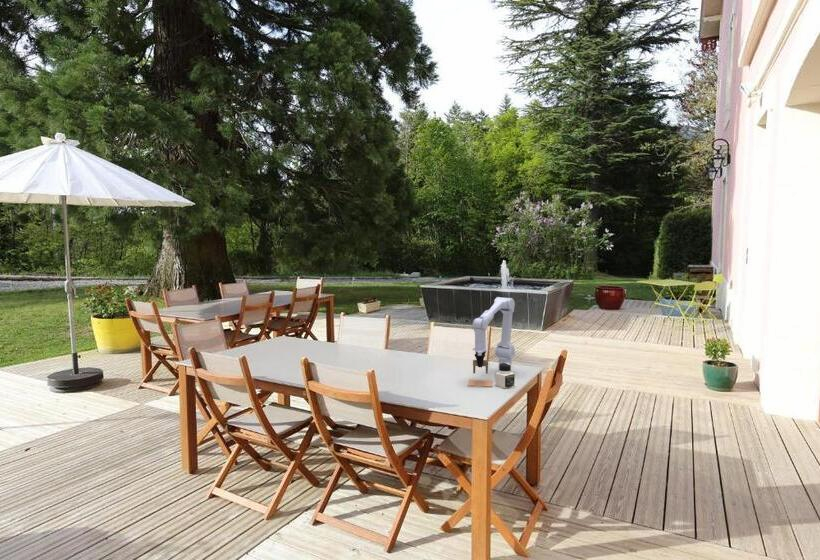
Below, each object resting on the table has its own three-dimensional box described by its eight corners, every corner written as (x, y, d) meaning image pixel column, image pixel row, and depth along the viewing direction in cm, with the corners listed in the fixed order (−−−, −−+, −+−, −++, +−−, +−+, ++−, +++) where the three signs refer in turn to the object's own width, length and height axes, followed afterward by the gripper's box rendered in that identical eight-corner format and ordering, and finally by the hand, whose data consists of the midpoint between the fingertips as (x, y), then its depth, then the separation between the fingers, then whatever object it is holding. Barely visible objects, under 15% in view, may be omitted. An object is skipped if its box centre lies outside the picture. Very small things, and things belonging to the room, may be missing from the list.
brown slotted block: (473, 370, 285) (473, 359, 284) (488, 371, 284) (488, 360, 283) (472, 373, 280) (472, 362, 279) (488, 373, 279) (488, 362, 278)
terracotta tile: (468, 380, 289) (468, 379, 289) (492, 381, 287) (492, 380, 287) (467, 386, 278) (467, 385, 278) (492, 387, 276) (492, 386, 276)
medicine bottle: (505, 389, 273) (505, 366, 272) (495, 385, 278) (495, 363, 277) (514, 386, 277) (514, 364, 276) (504, 383, 283) (504, 361, 281)
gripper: (473, 337, 288) (473, 362, 289) (471, 343, 274) (472, 369, 275) (486, 338, 287) (486, 362, 288) (485, 343, 273) (485, 369, 274)
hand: (480, 365), depth 281 cm, fingers closed on brown slotted block, 5 cm apart
